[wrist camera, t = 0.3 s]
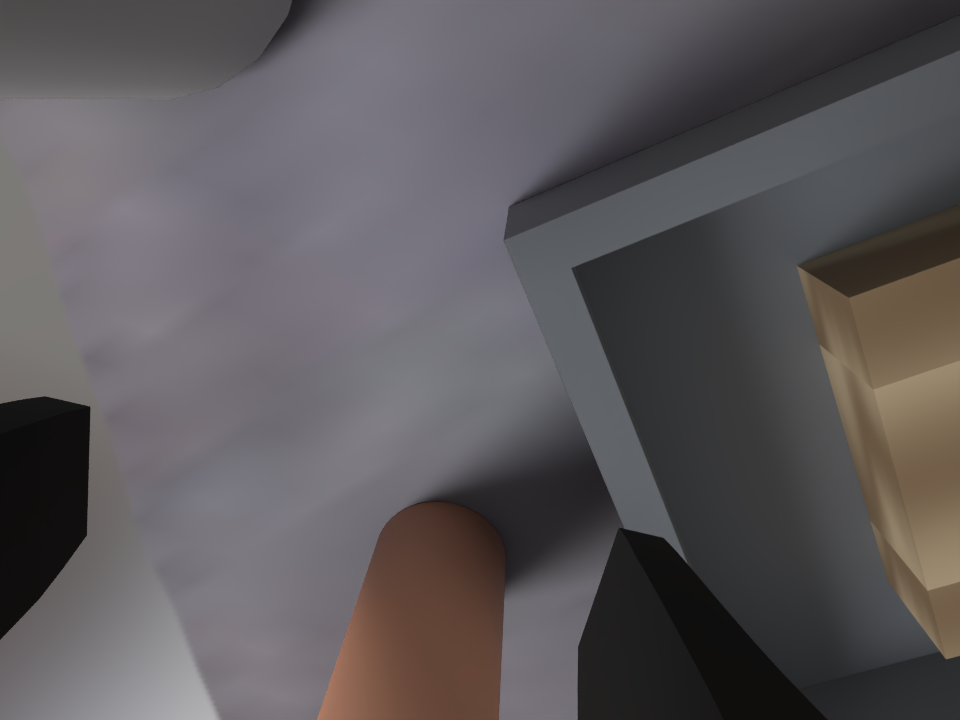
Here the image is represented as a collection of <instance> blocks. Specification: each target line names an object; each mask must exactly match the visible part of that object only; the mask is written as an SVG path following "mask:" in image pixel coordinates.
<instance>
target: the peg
mask: <svg viewBox="0 0 960 720" xmlns="http://www.w3.org/2000/svg"><path fill="white" fill-rule="evenodd" d="M505 570H506V555H505V549H504V545H503V543H502V540H501V538H500V536H499V535H498V533H497V531H496V530H495V529H494V527H493V526H492V525H491V524H490V523H489V522H488V521H487V520H486V519H485V518H483V517H482V516H481V515H479V514H478V513H476V512H474V511H473V510H471V509H468V508H466V507H464V506H460V505H457V504H453V503H448V502H426V503H420V504H417V505H413V506H411V507H408V508H406V509H404V510H402V511H401V512H399V513H397V514H396V515H395V516H394V517H392V518H391V519H390V520H389V521H388V523H387V524H386V525H385V526H384V528H383V529H382V531H381V533H380V535H379V538H378V541H377V544H376V547H375V550H374V553H373V556H372V559H371V562H370V565H369V568H368V571H367V574H366V577H365V580H364V582H363V585H362V588H361V591H360V594H359V597H358V600H357V603H356V606H355V609H354V612H353V615H352V618H351V621H350V624H349V627H348V630H347V633H346V636H345V639H344V642H343V645H342V648H341V651H340V654H339V657H338V659H337V662H336V665H335V668H334V671H333V674H332V677H331V680H330V683H329V686H328V689H327V692H326V695H325V698H324V701H323V704H322V707H321V710H320V713H319V716H318V719H317V720H499V703H500V681H501V659H502V637H503V614H504V592H505Z"/></svg>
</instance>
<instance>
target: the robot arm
mask: <svg viewBox="0 0 960 720" xmlns="http://www.w3.org/2000/svg"><path fill="white" fill-rule="evenodd" d="M89 437H90V407H89V406H85V405H80V404H76V403H72V402H67V401H63V400H59V399H54V398H50V397H37V398H30V399H23V400H17V401H12V402H7V403H2V404H0V639H1V638H2V637H3V636H4V635H5V634H6V633H7V632H8V631H9V630H10V629H11V628H12V627H13V626H14V625H15V624H16V623H17V622H18V621H19V619H20V618H22V617H23V615H24V614H25V613H26V612H27V611H28V610H29V609H30V608H31V607H32V606H33V605H34V604H35V603H36V602H37V601H38V600H39V598H40V597H41V596H42V595H43V593H44V592H45V591H46V589H47V588H48V587H49V586H50V584H51V583H52V582H53V581H54V579H55V578H56V577H57V575H58V574H59V573H60V572H61V570H62V569H63V568H64V566H65V564H66V563H67V562H68V561H69V559H70V558H71V556H72V555H73V554H74V552H75V551H76V550H77V548H78V547H79V545H80V544H81V543H82V541H83V540H84V538H85V537H86V536H87V508H88V470H89ZM578 720H828V719H827V718H826V717H825V716H824V715H823V714H822V713H821V712H820V711H819V710H818V709H817V708H816V707H815V706H814V705H813V704H812V703H811V702H810V701H809V700H808V699H807V698H806V697H805V696H804V695H803V694H802V693H801V692H800V691H799V690H798V689H797V688H796V686H795V685H794V684H793V683H792V682H791V681H790V680H789V679H788V678H787V677H786V676H785V675H784V674H783V673H782V672H781V671H780V670H779V668H778V667H777V666H776V665H775V664H774V663H773V662H772V661H771V660H770V659H769V658H768V656H767V655H766V654H765V653H764V652H763V651H762V650H761V649H760V648H759V646H758V645H757V644H756V643H755V642H754V641H753V640H752V639H751V637H750V636H749V635H748V634H747V633H746V632H745V631H744V629H743V628H742V627H741V626H740V625H739V624H738V623H737V621H736V620H735V619H734V618H733V617H732V616H731V614H730V613H729V612H728V611H727V610H726V609H725V607H724V606H723V605H722V604H721V603H720V602H719V600H718V599H717V598H716V597H715V596H714V595H713V593H712V592H711V591H710V590H709V589H708V587H707V586H706V585H705V584H704V583H703V582H702V580H701V579H700V578H699V577H698V576H697V574H696V573H695V572H694V571H693V570H692V569H691V567H690V566H689V565H688V564H687V563H686V562H685V560H684V559H683V558H682V557H681V556H680V555H679V554H678V552H677V551H676V550H675V549H674V548H673V547H672V546H671V545H670V544H669V543H668V542H667V541H666V540H665V539H664V538H663V537H658V536H654V535H650V534H645V533H641V532H637V531H632V530H628V529H623V528H619V529H618V532H617V535H616V538H615V541H614V543H613V546H612V549H611V552H610V555H609V558H608V561H607V564H606V567H605V570H604V573H603V576H602V579H601V582H600V584H599V587H598V590H597V593H596V596H595V599H594V602H593V605H592V608H591V611H590V614H589V617H588V620H587V623H586V625H585V628H584V631H583V634H582V637H581V640H580V643H579V646H578Z"/></svg>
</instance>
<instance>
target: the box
mask: <svg viewBox="0 0 960 720" xmlns="http://www.w3.org/2000/svg"><path fill="white" fill-rule="evenodd" d="M504 243H505V245H506V247H507V250H508V252H509V254H510V257H511V259H512V262H513V264H514V266H515V269H516V271H517V274H518V276H519V278H520V281H521V283H522V285H523V288H524V290H525V293H526V295H527V297H528V300H529V302H530V305H531V307H532V309H533V312H534V314H535V316H536V319H537V321H538V324H539V326H540V328H541V331H542V333H543V336H544V338H545V340H546V343H547V345H548V347H549V350H550V352H551V355H552V357H553V359H554V362H555V364H556V367H557V369H558V371H559V374H560V376H561V378H562V381H563V383H564V386H565V388H566V390H567V393H568V395H569V398H570V400H571V402H572V405H573V407H574V409H575V412H576V414H577V417H578V419H579V421H580V424H581V426H582V429H583V431H584V433H585V436H586V438H587V441H588V443H589V445H590V448H591V450H592V452H593V455H594V457H595V460H596V462H597V464H598V467H599V469H600V472H601V474H602V476H603V479H604V481H605V483H606V486H607V488H608V491H609V493H610V495H611V498H612V500H613V503H614V505H615V507H616V510H617V512H618V514H619V517H620V519H621V522H622V524H623V526H624V529H628V530H632V531H637V532H641V533H645V534H650V535H654V536H658V537H663V538H664V539H665V540H666V541H667V542H668V543H669V544H670V545H671V546H672V547H673V548H674V549H675V550H676V551H677V552H678V554H679V555H680V556H681V557H682V558H683V559H684V560H685V562H686V563H687V564H688V565H689V566H690V567H691V569H692V570H693V571H694V572H695V573H696V574H697V576H698V577H699V578H700V579H701V580H702V582H703V583H704V584H705V585H706V586H707V587H708V589H709V590H710V591H711V592H712V593H713V595H714V596H715V597H716V598H717V599H718V600H719V602H720V603H721V604H722V605H723V606H724V607H725V609H726V610H727V611H728V612H729V613H730V614H731V616H732V617H733V618H734V619H735V620H736V621H737V623H738V624H739V625H740V626H741V627H742V628H743V629H744V631H745V632H746V633H747V634H748V635H749V636H750V637H751V639H752V640H753V641H754V642H755V643H756V644H757V645H758V646H759V648H760V649H761V650H762V651H763V652H764V653H765V654H766V655H767V656H768V658H769V659H770V660H771V661H772V662H773V663H774V664H775V665H776V666H777V667H778V668H779V670H780V671H781V672H782V673H783V674H784V675H785V676H786V677H787V678H788V679H789V680H790V681H791V682H792V683H793V684H794V685H795V686H796V688H797V689H798V690H799V691H800V692H801V693H802V694H803V695H804V696H805V697H806V698H807V699H808V700H809V701H810V702H811V703H812V704H813V705H814V706H815V707H816V708H817V709H818V710H819V711H820V712H821V713H822V714H823V715H824V716H825V717H826V718H827V719H828V720H960V15H959V16H956V17H954V18H952V19H949V20H947V21H945V22H942V23H940V24H938V25H935V26H933V27H930V28H928V29H926V30H923V31H921V32H919V33H916V34H914V35H912V36H909V37H907V38H905V39H902V40H900V41H898V42H895V43H893V44H891V45H888V46H886V47H884V48H881V49H879V50H876V51H874V52H872V53H869V54H867V55H865V56H862V57H860V58H858V59H855V60H853V61H851V62H848V63H846V64H844V65H841V66H839V67H837V68H834V69H832V70H829V71H827V72H825V73H822V74H820V75H818V76H815V77H813V78H811V79H808V80H806V81H804V82H801V83H799V84H797V85H794V86H792V87H790V88H787V89H785V90H782V91H780V92H778V93H775V94H773V95H771V96H768V97H766V98H764V99H761V100H759V101H757V102H754V103H752V104H750V105H747V106H745V107H743V108H740V109H738V110H736V111H733V112H731V113H728V114H726V115H724V116H721V117H719V118H717V119H714V120H712V121H710V122H707V123H705V124H703V125H700V126H698V127H696V128H693V129H691V130H689V131H686V132H684V133H681V134H679V135H677V136H674V137H672V138H670V139H667V140H665V141H663V142H660V143H658V144H656V145H653V146H651V147H649V148H646V149H644V150H642V151H639V152H637V153H634V154H632V155H630V156H627V157H625V158H623V159H620V160H618V161H616V162H613V163H611V164H609V165H606V166H604V167H602V168H599V169H597V170H595V171H592V172H590V173H588V174H585V175H583V176H580V177H578V178H576V179H573V180H571V181H569V182H566V183H564V184H562V185H559V186H557V187H555V188H552V189H550V190H548V191H545V192H543V193H541V194H538V195H536V196H533V197H531V198H529V199H526V200H524V201H522V202H519V203H517V204H515V205H512V206H510V207H509V210H508V216H507V223H506V229H505V235H504Z"/></svg>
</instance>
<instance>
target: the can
mask: <svg viewBox="0 0 960 720" xmlns="http://www.w3.org/2000/svg"><path fill="white" fill-rule="evenodd" d="M291 3H292V0H0V99H175V98H179V97H183V96H187V95H191V94H194V93H198V92H202V91H206V90H210V89H214V88H217V87H220V86H221V85H222V84H224V83H225V82H227V81H228V80H229V79H231V78H232V77H234V76H235V75H236V74H238V73H239V72H241V71H242V70H243V69H245V68H246V67H248V66H249V65H250V64H252V63H253V62H255V61H256V60H257V59H259V57H260V56H261V54H262V53H263V51H264V50H265V48H266V47H267V45H268V44H269V42H270V41H271V40H272V38H273V37H274V35H275V34H276V32H277V31H278V29H279V28H280V26H281V25H282V23H283V22H284V20H285V19H286V18H287V16H288V13H289V10H290V6H291Z"/></svg>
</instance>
